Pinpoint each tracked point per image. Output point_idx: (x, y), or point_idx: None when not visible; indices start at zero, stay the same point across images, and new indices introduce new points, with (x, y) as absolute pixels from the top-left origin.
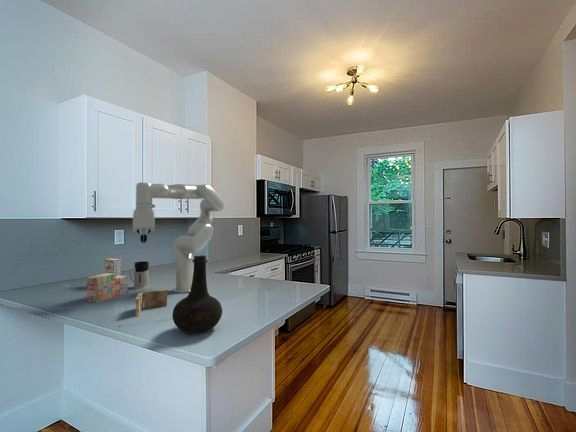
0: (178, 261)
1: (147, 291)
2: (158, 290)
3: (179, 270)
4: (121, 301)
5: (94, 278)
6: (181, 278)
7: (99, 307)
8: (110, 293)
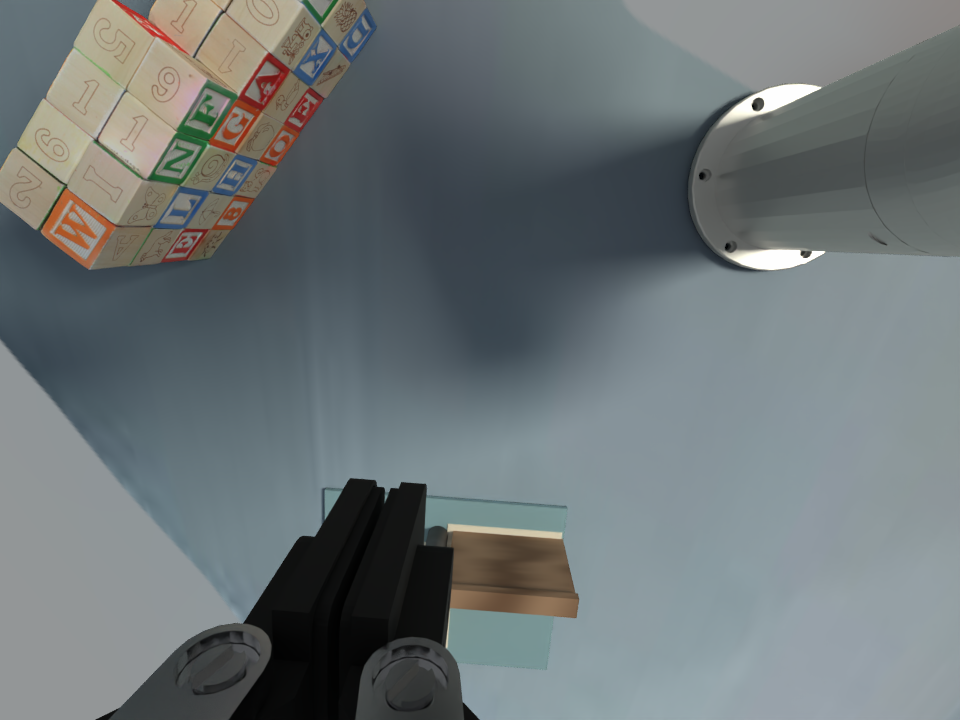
0: (901, 201)
1: (462, 593)
2: (526, 597)
3: (828, 221)
4: (343, 303)
5: (60, 244)
6: (793, 239)
7: (238, 384)
8: (256, 171)
